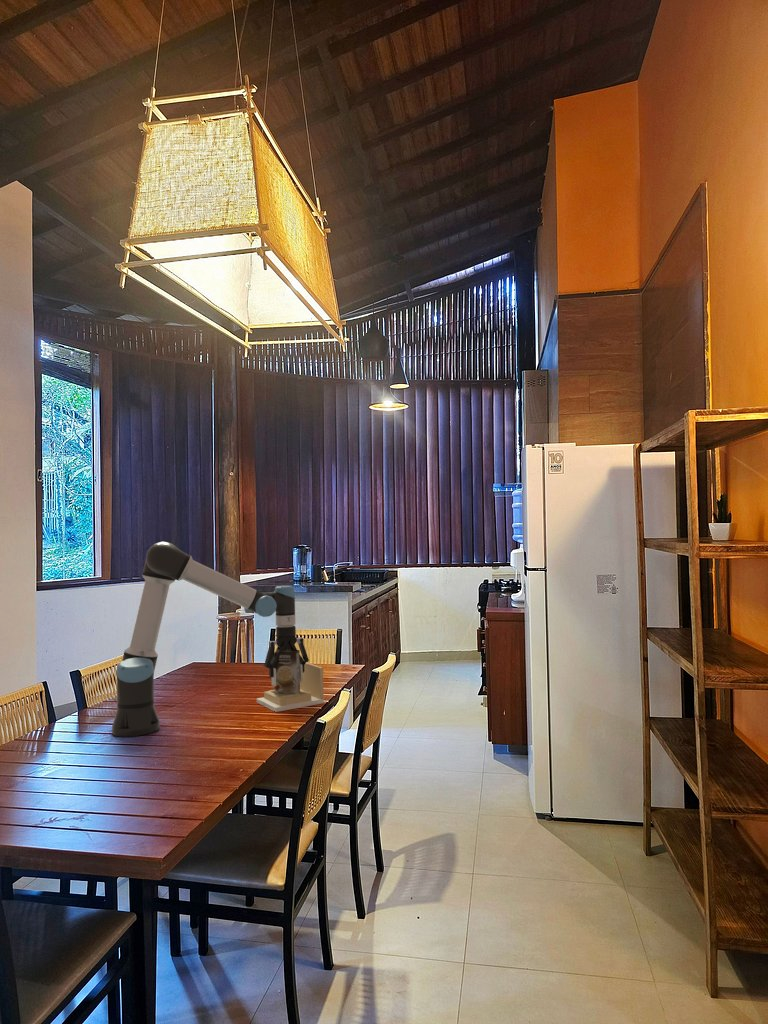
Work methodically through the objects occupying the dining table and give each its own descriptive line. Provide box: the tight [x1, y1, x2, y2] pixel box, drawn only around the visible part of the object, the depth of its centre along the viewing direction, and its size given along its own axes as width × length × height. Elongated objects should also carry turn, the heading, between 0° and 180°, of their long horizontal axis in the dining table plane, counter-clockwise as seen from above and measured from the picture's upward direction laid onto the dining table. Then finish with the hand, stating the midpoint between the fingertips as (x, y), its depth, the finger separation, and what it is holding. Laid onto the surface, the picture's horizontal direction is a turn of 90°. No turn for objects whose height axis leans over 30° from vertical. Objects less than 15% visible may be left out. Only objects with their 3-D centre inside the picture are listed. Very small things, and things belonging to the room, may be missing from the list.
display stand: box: [256, 662, 325, 713], centre depth 251 cm, size 20×18×14 cm
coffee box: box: [273, 649, 301, 694], centre depth 251 cm, size 9×6×16 cm
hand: (287, 683), depth 251 cm, fingers closed on coffee box, 10 cm apart
